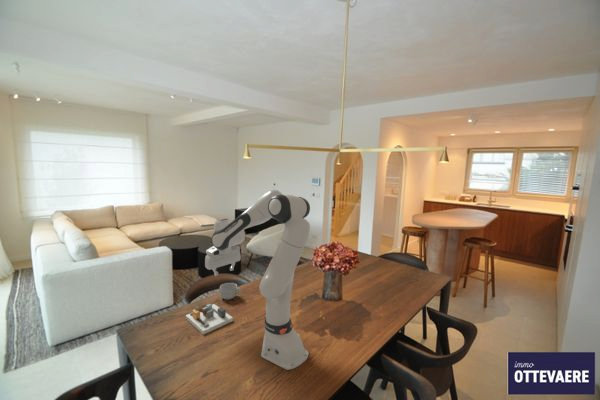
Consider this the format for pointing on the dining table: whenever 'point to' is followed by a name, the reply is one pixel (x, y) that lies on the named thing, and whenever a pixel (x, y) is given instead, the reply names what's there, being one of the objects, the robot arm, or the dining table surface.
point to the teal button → (209, 305)
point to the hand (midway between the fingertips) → (224, 272)
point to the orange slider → (195, 314)
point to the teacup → (229, 291)
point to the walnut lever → (201, 310)
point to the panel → (209, 320)
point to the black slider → (221, 312)
